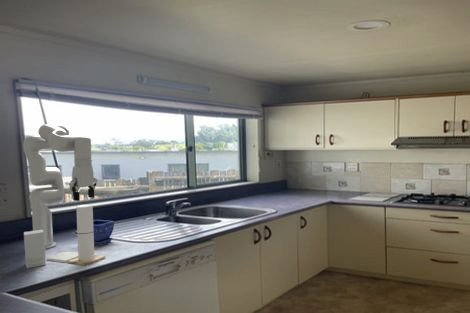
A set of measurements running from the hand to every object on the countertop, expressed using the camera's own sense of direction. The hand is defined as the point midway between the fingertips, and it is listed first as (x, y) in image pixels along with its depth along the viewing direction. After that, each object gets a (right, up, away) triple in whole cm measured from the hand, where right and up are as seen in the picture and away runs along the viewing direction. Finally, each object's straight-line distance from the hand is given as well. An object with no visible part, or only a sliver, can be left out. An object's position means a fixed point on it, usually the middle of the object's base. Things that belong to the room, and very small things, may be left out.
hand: (83, 198), depth 193 cm
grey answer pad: (-11, -29, +6) cm, 32 cm away
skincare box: (-21, -30, -5) cm, 37 cm away
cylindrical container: (+1, -29, +1) cm, 29 cm away
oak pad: (+1, -29, +1) cm, 29 cm away
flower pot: (-4, -28, +33) cm, 43 cm away
